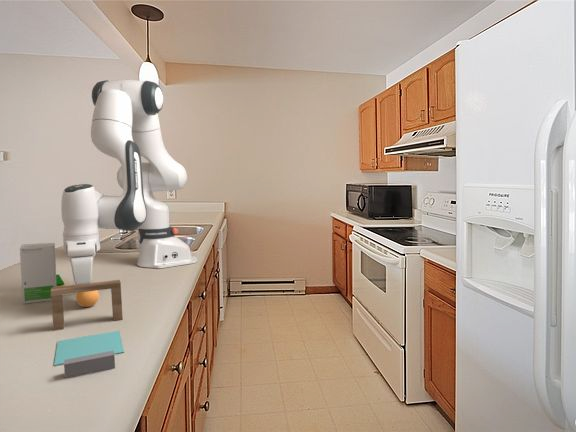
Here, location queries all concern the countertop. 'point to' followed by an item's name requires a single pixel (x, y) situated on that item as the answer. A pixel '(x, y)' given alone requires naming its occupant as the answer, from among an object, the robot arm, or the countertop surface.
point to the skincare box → (37, 271)
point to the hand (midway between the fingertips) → (85, 294)
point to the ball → (87, 298)
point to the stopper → (89, 364)
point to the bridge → (59, 291)
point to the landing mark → (88, 346)
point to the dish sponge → (59, 281)
